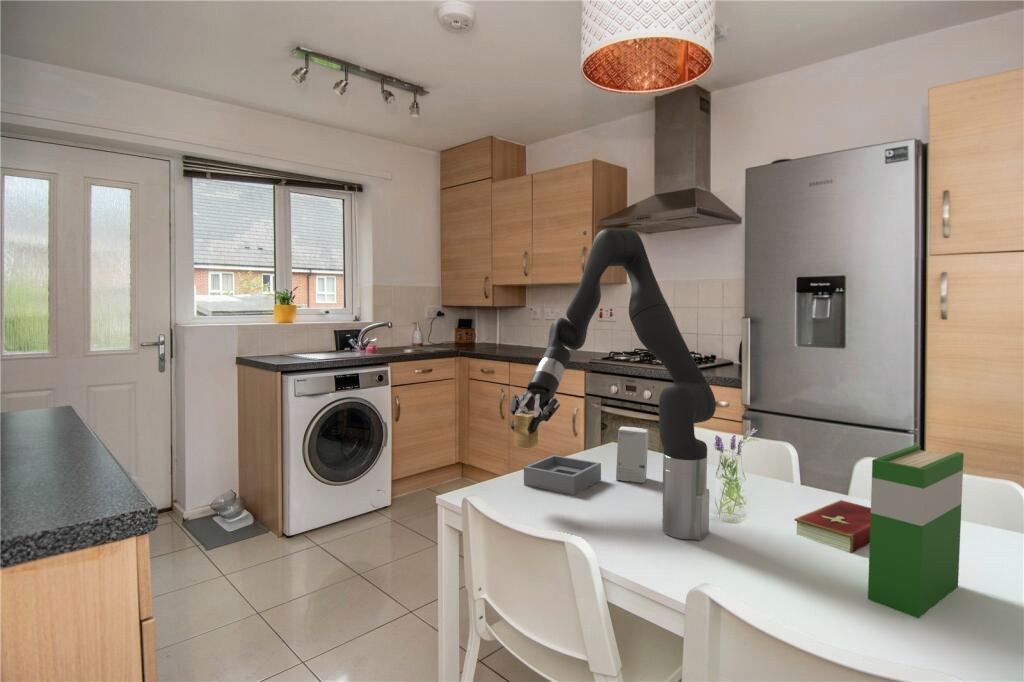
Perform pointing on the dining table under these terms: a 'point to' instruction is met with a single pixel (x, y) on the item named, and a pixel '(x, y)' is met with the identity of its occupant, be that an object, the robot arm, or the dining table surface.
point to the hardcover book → (837, 525)
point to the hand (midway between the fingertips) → (521, 430)
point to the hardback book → (914, 529)
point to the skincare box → (632, 454)
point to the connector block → (524, 431)
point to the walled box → (562, 474)
